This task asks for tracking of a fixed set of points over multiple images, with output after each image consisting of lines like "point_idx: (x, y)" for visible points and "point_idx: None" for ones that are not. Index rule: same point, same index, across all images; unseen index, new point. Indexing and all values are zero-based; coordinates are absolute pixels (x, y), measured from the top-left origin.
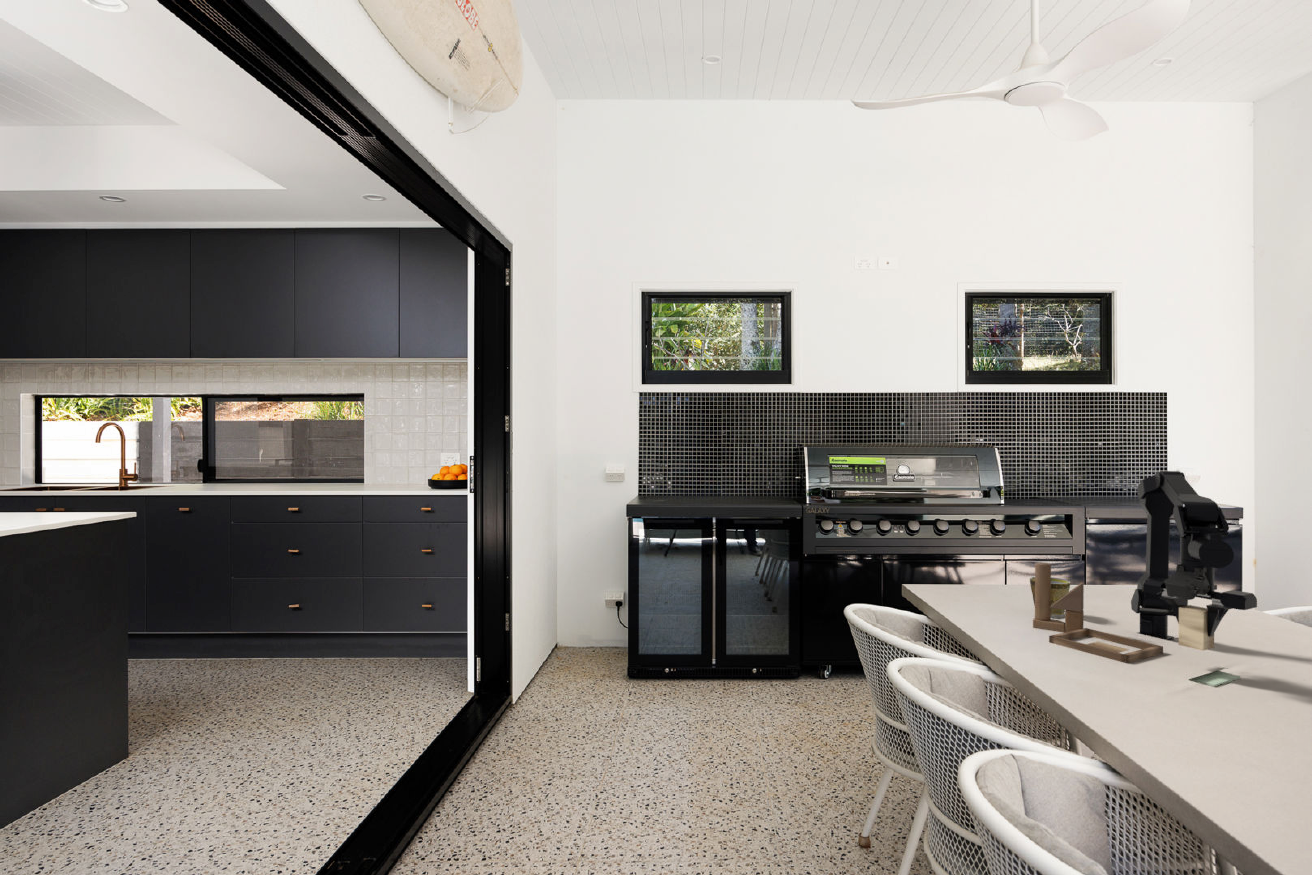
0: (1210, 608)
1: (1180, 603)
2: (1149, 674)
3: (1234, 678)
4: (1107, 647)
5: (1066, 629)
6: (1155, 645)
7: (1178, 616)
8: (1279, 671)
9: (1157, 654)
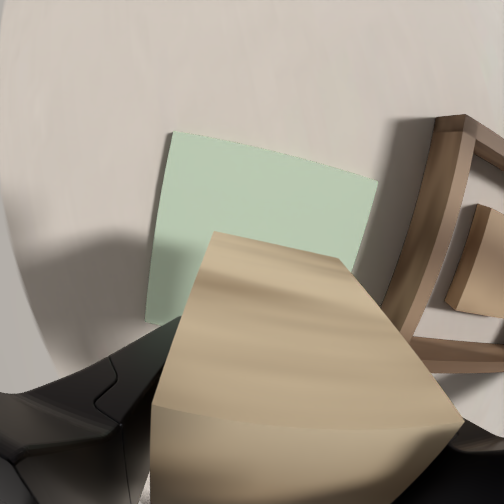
0: (2, 418)
1: (436, 501)
2: (375, 115)
3: (148, 281)
4: (498, 278)
5: None
6: None
7: None
8: None
9: None
